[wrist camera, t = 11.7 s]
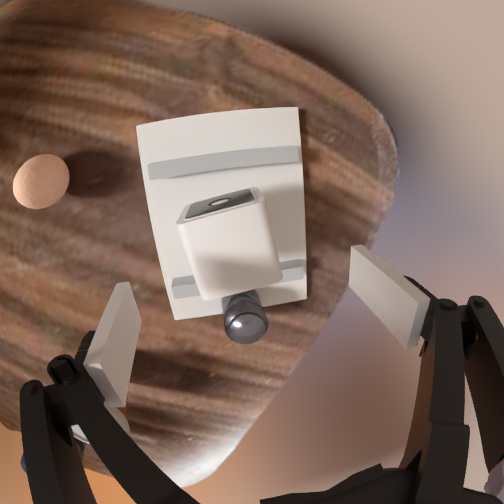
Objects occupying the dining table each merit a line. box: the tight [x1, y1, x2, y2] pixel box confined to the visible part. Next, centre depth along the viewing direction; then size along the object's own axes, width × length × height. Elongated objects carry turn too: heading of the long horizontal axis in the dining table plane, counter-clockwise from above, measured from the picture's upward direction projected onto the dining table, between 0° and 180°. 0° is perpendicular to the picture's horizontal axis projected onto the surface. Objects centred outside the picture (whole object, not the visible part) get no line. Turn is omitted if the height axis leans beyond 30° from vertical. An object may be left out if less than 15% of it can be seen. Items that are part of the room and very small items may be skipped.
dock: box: [136, 107, 307, 320], centre depth 29 cm, size 22×16×3 cm
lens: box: [221, 289, 268, 344], centre depth 31 cm, size 4×4×6 cm
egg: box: [13, 154, 69, 209], centre depth 22 cm, size 5×5×8 cm
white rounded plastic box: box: [176, 187, 283, 300], centre depth 25 cm, size 6×7×10 cm
